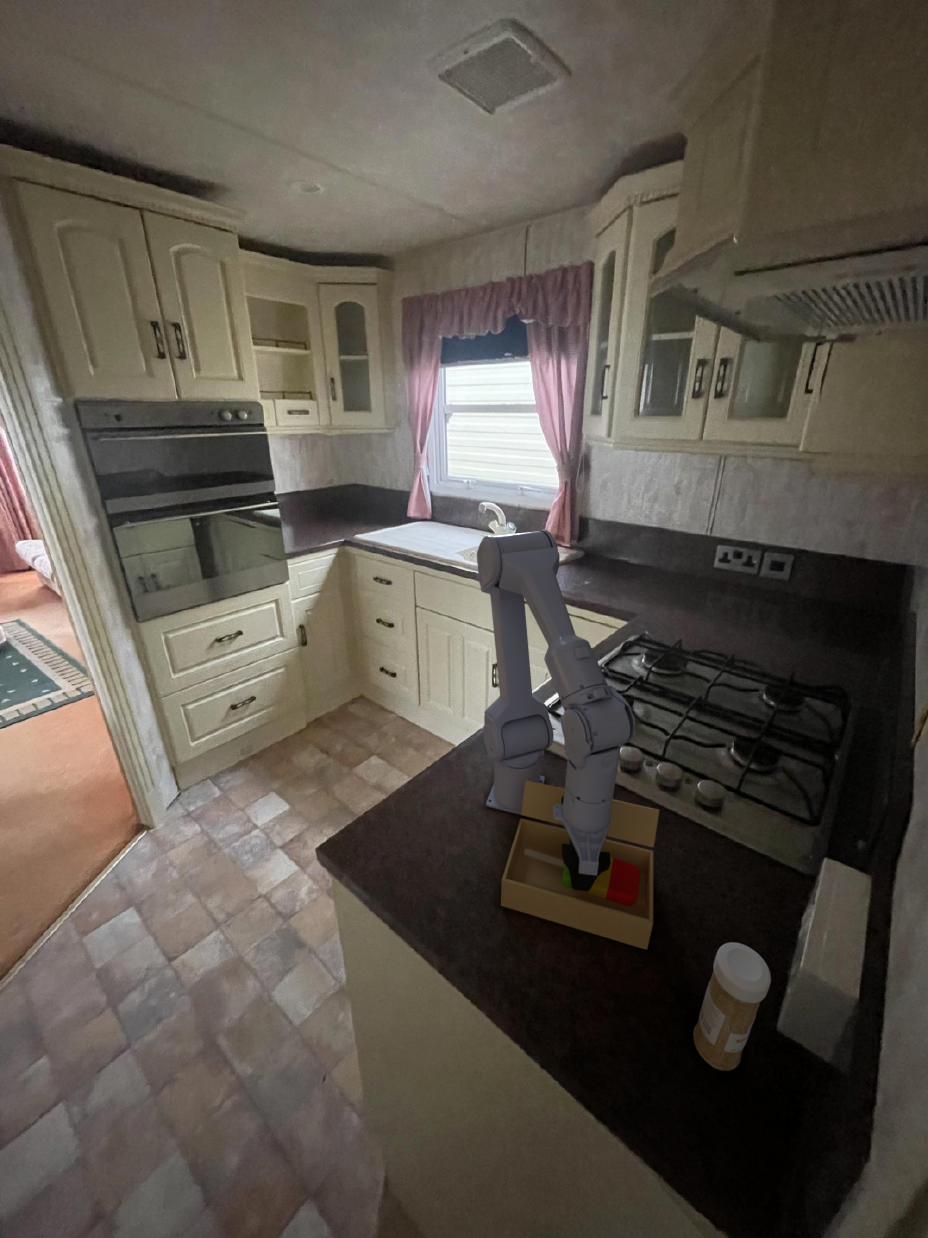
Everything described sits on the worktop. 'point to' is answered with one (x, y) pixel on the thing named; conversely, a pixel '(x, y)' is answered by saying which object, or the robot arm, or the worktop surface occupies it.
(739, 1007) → the sprinkles bottle
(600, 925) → the carton
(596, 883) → the popsicle
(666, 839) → the worktop surface
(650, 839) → the flap
